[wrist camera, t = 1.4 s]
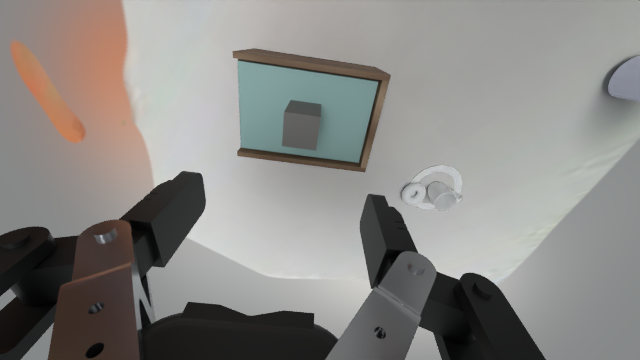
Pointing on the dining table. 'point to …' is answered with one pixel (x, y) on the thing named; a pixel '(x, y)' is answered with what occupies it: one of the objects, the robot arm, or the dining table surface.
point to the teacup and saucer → (434, 190)
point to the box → (324, 67)
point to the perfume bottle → (626, 81)
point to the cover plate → (304, 87)
